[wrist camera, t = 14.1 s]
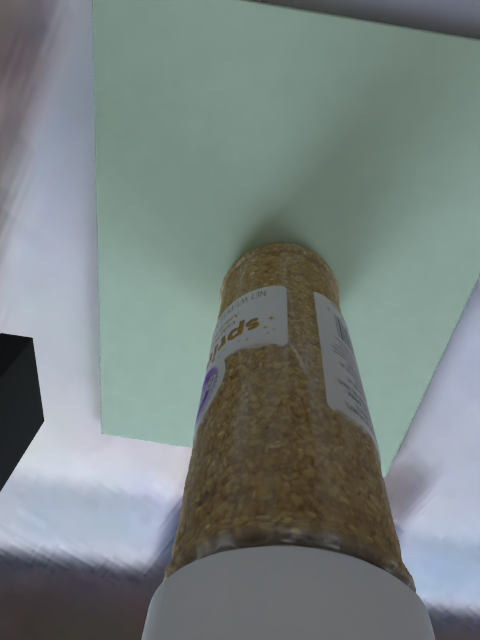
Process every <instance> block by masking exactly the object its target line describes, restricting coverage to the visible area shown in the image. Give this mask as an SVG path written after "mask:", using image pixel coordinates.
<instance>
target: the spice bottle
mask: <svg viewBox="0 0 480 640" xmlns="http://www.w3.org/2000/svg"><path fill="white" fill-rule="evenodd" d="M192 443H193V449H192V455H191V459H190V464H189V470H188V474H187V477H186V482H185V487H184V494H183V500H182V508H181V509H180V513H179V523H178V527H177V531H176V535H175V541H174V544H173V548H172V560H171V563H170V564H169V565H168V566H167V567H166V570H165V577H164V580H163V583H162V584H161V585H160V586H159V587H158V589H157V590H156V592H155V594H154V595H153V598H152V600H151V602H150V605H149V609H148V614H147V618H146V622H145V627H144V631H143V635H142V640H435V636H434V633H433V629H432V625H431V621H430V617H429V615H428V612H427V610H426V607H425V605H424V603H423V602H422V600H421V599H420V597H419V596H418V595H417V594H416V589H415V585H414V581H413V578H412V576H411V575H410V573H409V572H408V570H407V568H406V567H405V565H404V564H403V562H402V558H401V550H400V544H399V540H398V537H397V534H396V531H395V526H394V522H393V518H392V514H391V509H390V506H389V501H388V497H387V492H386V487H385V483H384V479H383V476H382V471H381V458H380V452H379V447H378V443H377V440H376V436H375V432H374V428H373V424H372V420H371V416H370V413H369V409H368V405H367V401H366V397H365V393H364V389H363V385H362V381H361V377H360V373H359V369H358V365H357V362H356V358H355V354H354V350H353V346H352V342H351V338H350V334H349V330H348V327H347V324H346V322H345V319H344V318H343V316H342V314H341V310H340V306H339V287H338V282H337V280H336V278H335V276H334V274H333V272H332V270H331V268H330V267H329V265H328V264H327V263H325V261H324V260H323V259H321V258H320V257H319V256H318V255H317V254H316V253H314V252H311V251H309V250H307V249H306V248H303V247H301V246H299V245H296V244H291V243H275V244H269V245H266V246H261V247H259V248H255V249H253V250H251V251H250V252H247V253H245V254H244V255H242V256H241V257H240V258H239V259H238V260H237V261H236V262H235V263H234V264H233V265H232V267H231V268H230V269H229V270H228V272H227V273H226V275H225V276H224V278H223V281H222V285H221V288H220V310H219V315H218V320H217V324H216V326H215V329H214V332H213V336H212V341H211V347H210V352H209V357H208V362H207V368H206V373H205V377H204V382H203V387H202V392H201V398H200V402H199V407H198V413H197V418H196V423H195V428H194V434H193V441H192Z"/></svg>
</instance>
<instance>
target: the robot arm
mask: <svg viewBox="0 0 480 640" xmlns="http://www.w3.org/2000/svg"><path fill="white" fill-rule="evenodd" d="M43 422H44V416H43V409H42V402H41V394H40V387H39V380H38V373H37V366H36V359H35V352H34V345H33V338H30V337H23V336H17V335H10V334H3V333H1V334H0V491H1V490H2V488H3V487H4V485H5V483H6V482H7V480H8V479H9V477H10V475H11V474H12V472H13V470H14V469H15V467H16V466H17V464H18V462H19V461H20V459H21V458H22V456H23V454H24V453H25V451H26V449H27V448H28V446H29V445H30V443H31V441H32V440H33V438H34V437H35V435H36V433H37V432H38V430H39V428H40V427H41V425H42V424H43Z"/></svg>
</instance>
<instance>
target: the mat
mask: <svg viewBox="0 0 480 640" xmlns="http://www.w3.org/2000/svg"><path fill="white" fill-rule="evenodd" d="M92 13H93V60H94V107H95V154H96V201H97V248H98V295H99V342H100V388H101V433H102V434H104V435H110V436H117V437H124V438H130V439H137V440H143V441H150V442H156V443H163V444H170V445H176V446H183V447H189V448H193V443H192V441H193V434H194V428H195V423H196V418H197V413H198V407H199V402H200V398H201V392H202V387H203V382H204V377H205V373H206V368H207V362H208V357H209V352H210V347H211V341H212V336H213V332H214V329H215V326H216V324H217V320H218V315H219V310H220V288H221V285H222V281H223V278H224V276H225V275H226V273H227V272H228V270H229V269H230V268H231V267H232V265H233V264H234V263H235V262H236V261H237V260H238V259H239V258H240V257H241V256H242V255H244V254H245V253H247V252H250V251H251V250H253V249H255V248H259V247H261V246H266V245H269V244H275V243H291V244H296V245H299V246H301V247H303V248H306V249H307V250H309V251H311V252H314V253H316V254H317V255H318V256H319V257H320V258H321V259H323V260H324V261H325V263H327V264H328V265H329V267H330V268H331V270H332V272H333V274H334V276H335V278H336V280H337V282H338V287H339V306H340V310H341V314H342V316H343V318H344V319H345V322H346V324H347V327H348V330H349V334H350V338H351V342H352V346H353V350H354V354H355V358H356V362H357V365H358V369H359V373H360V377H361V381H362V385H363V389H364V393H365V397H366V401H367V405H368V409H369V413H370V416H371V420H372V424H373V428H374V432H375V436H376V440H377V443H378V447H379V452H380V458H381V471H382V476H383V477H386V475H387V473H388V471H389V469H390V467H391V464H392V462H393V460H394V458H395V456H396V454H397V452H398V449H399V447H400V445H401V443H402V441H403V439H404V437H405V434H406V432H407V430H408V428H409V426H410V424H411V422H412V419H413V417H414V415H415V413H416V411H417V409H418V407H419V404H420V402H421V400H422V398H423V396H424V394H425V392H426V390H427V387H428V385H429V383H430V381H431V379H432V377H433V375H434V372H435V370H436V368H437V366H438V364H439V362H440V360H441V357H442V355H443V353H444V351H445V349H446V347H447V345H448V342H449V340H450V338H451V336H452V334H453V332H454V330H455V327H456V325H457V323H458V321H459V319H460V317H461V315H462V312H463V310H464V308H465V306H466V304H467V302H468V300H469V297H470V295H471V293H472V291H473V289H474V287H475V285H476V282H477V280H478V278H479V276H480V39H474V38H468V37H462V36H457V35H451V34H445V33H439V32H433V31H427V30H422V29H416V28H410V27H404V26H398V25H393V24H387V23H381V22H375V21H369V20H363V19H358V18H352V17H346V16H340V15H334V14H328V13H323V12H317V11H311V10H305V9H299V8H293V7H288V6H282V5H276V4H270V3H264V2H259V1H253V0H92Z"/></svg>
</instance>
